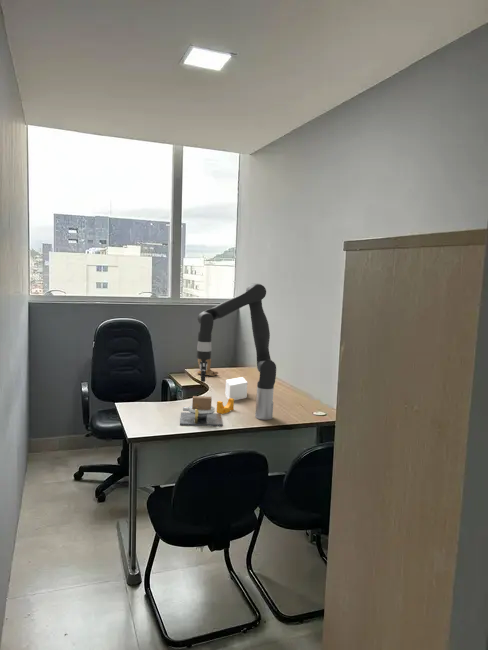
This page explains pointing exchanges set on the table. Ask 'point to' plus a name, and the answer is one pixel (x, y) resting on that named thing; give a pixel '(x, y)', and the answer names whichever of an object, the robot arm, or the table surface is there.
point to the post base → (201, 419)
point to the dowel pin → (196, 415)
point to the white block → (236, 388)
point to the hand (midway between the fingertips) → (202, 379)
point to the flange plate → (200, 411)
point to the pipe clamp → (227, 408)
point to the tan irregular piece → (208, 372)
